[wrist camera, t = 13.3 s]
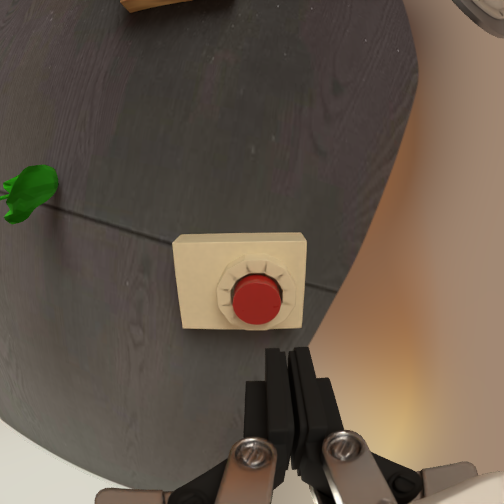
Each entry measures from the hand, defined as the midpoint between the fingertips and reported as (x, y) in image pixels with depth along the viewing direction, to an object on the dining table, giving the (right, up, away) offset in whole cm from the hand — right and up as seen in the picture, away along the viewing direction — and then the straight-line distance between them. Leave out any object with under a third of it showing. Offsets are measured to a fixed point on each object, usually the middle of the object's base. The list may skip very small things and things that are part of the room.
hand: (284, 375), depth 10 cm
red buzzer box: (-2, +2, +19) cm, 19 cm away
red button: (-1, +1, +14) cm, 14 cm away
